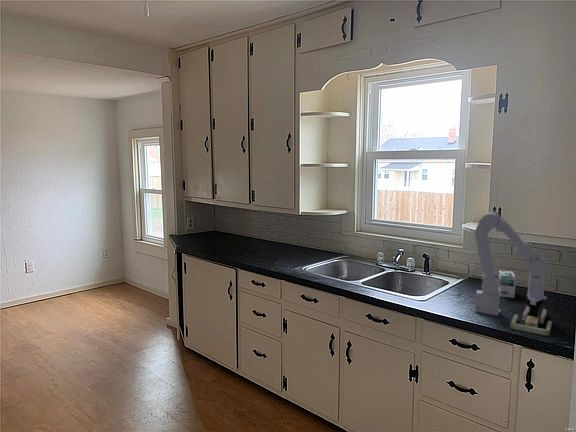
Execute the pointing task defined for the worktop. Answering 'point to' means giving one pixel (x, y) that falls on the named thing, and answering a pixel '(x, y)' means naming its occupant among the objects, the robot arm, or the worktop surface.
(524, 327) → the tray
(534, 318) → the tan square block
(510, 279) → the light bulb box
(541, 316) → the slot rails
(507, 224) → the robot arm
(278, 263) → the worktop surface
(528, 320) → the tan wooden block
